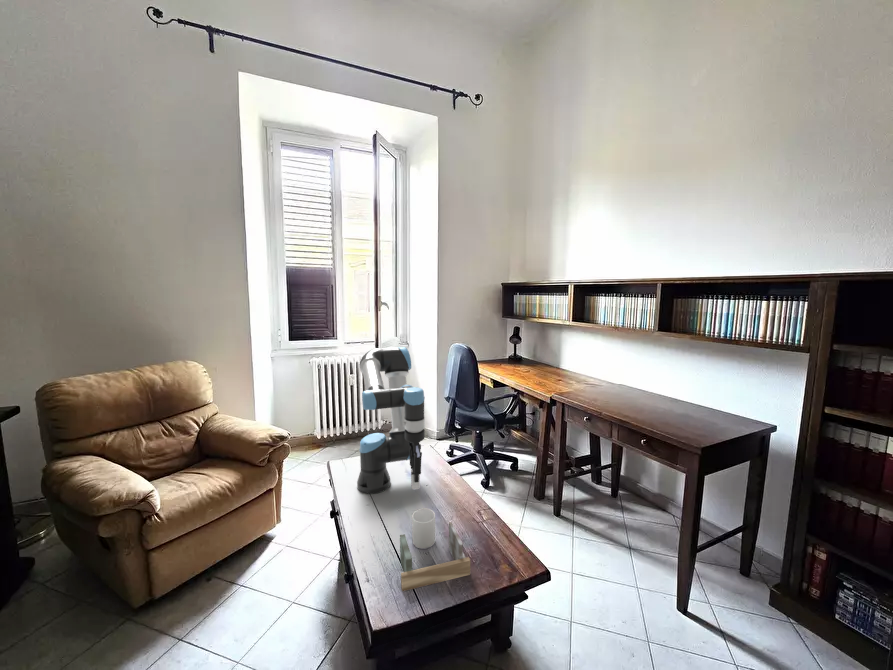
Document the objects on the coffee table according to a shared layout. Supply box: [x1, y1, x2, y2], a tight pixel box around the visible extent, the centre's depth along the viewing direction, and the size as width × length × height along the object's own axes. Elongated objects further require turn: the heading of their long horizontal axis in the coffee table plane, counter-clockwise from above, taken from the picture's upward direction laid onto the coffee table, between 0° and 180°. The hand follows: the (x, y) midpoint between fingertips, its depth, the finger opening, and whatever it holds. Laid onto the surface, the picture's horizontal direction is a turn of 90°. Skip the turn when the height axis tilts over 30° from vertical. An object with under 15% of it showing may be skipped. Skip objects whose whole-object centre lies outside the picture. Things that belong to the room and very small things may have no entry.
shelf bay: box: [399, 521, 471, 592], centre depth 118 cm, size 13×23×10 cm, turn 107°
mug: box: [411, 508, 436, 550], centre depth 132 cm, size 12×8×10 cm
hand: (415, 487), depth 140 cm, fingers closed
